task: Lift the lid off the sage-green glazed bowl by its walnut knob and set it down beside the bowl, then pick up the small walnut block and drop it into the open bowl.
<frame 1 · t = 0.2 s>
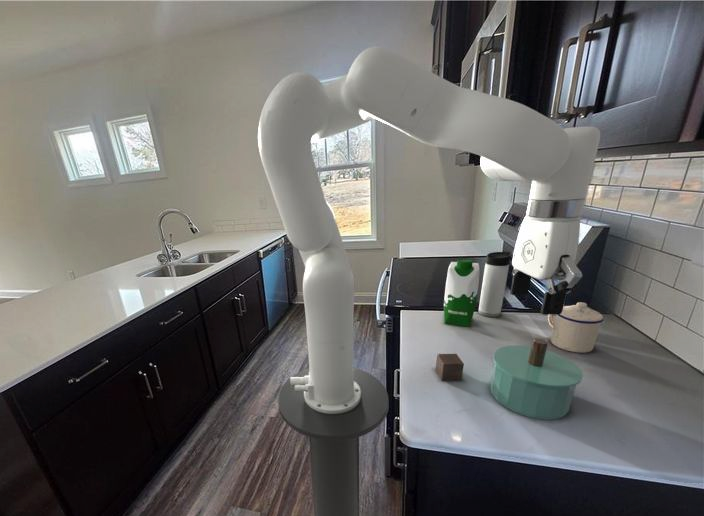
hand: (533, 303, 60), 20 cm above the countertop, tool pointing down, fingers open, 9 cm apart
travel mug: (489, 313, 103), on the countertop
lid: (534, 365, 62), point 7 cm above the countertop, touching bowl
bowl: (527, 396, 65), on the countertop
block: (448, 375, 73), on the countertop
milk carton: (457, 321, 99), on the countertop
teacup with lid: (565, 342, 84), on the countertop
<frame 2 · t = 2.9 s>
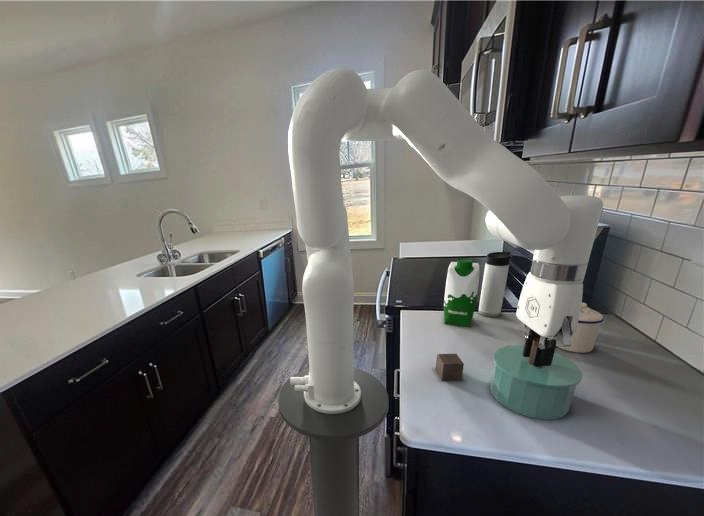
hand: (536, 360, 62), 9 cm above the countertop, tool pointing down, fingers closed on lid, 2 cm apart
lid: (534, 365, 62), point 8 cm above the countertop, touching bowl, gripper
everything else where it was.
when the fingers open (2 cm above the countertop, at t = 10.2 s): lid stays where it is, point 1 cm above the countertop.
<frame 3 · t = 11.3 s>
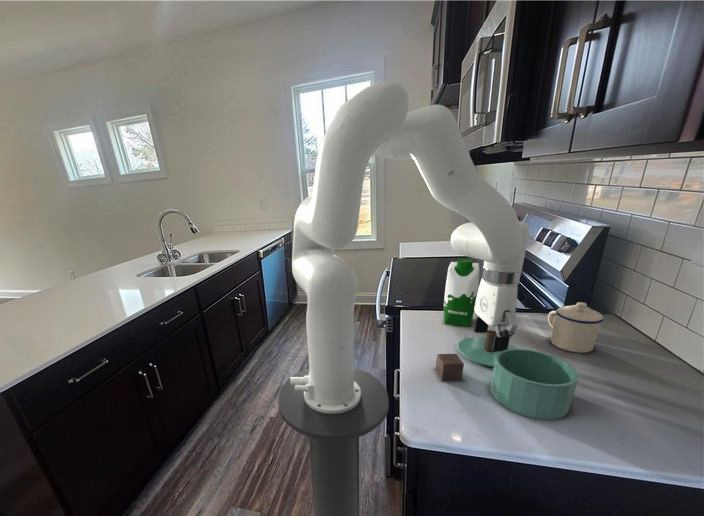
hand: (489, 341, 79), 4 cm above the countertop, tool pointing down, fingers open, 9 cm apart
lid: (488, 351, 81), point 1 cm above the countertop
everything else where it was.
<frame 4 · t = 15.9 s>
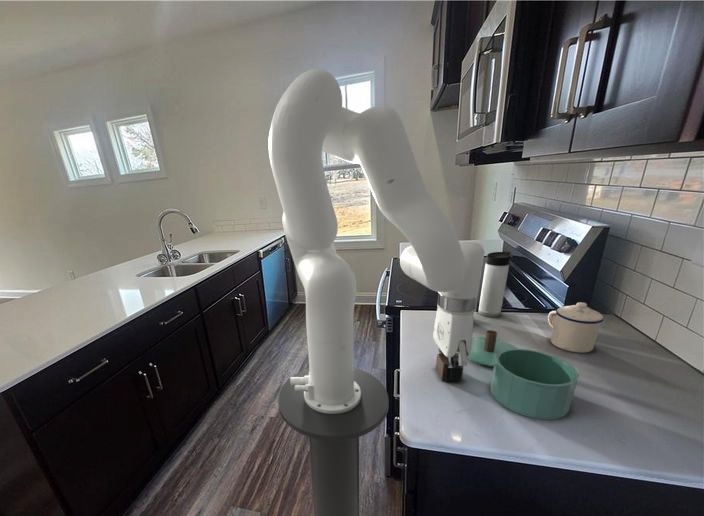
hand: (448, 373, 73), 0 cm above the countertop, tool pointing down, fingers closed on block, 4 cm apart
block: (448, 375, 73), on the countertop, touching gripper
everything else where it was.
when the fingers open (5 cm above the countertop, at t = 23.2 s): block drops 4 cm, resting on bowl.
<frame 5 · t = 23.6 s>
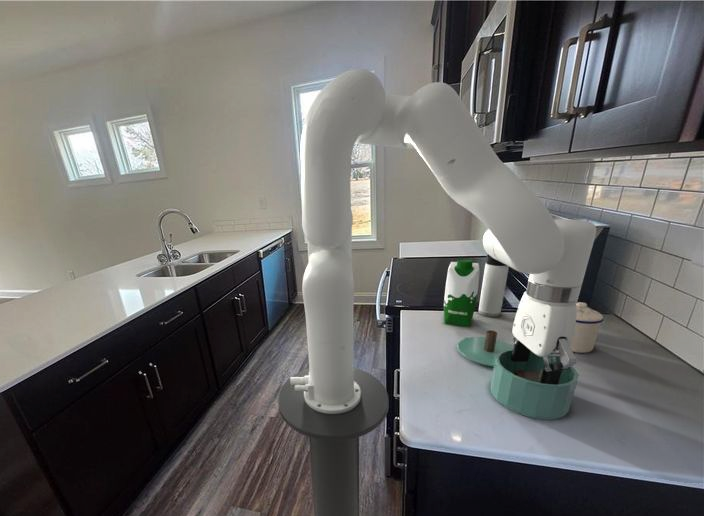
hand: (532, 372, 63), 6 cm above the countertop, tool pointing down, fingers open, 8 cm apart
block: (527, 394, 65), resting on bowl
everything else where it was.
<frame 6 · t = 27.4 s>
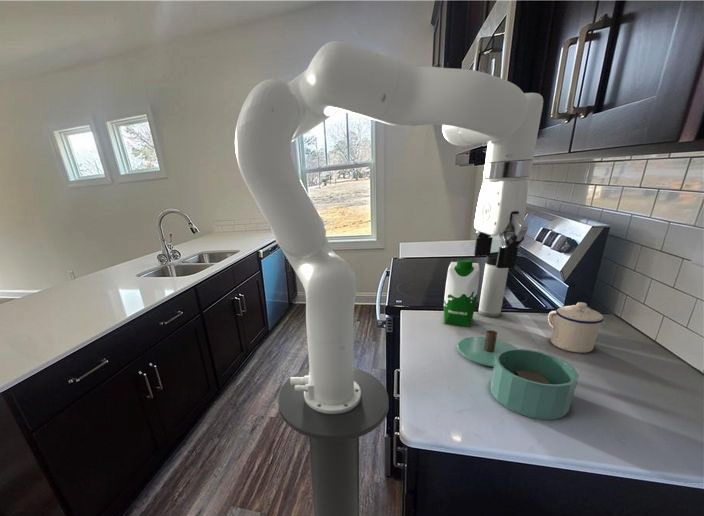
hand: (492, 261, 65), 26 cm above the countertop, tool pointing down, fingers open, 9 cm apart
nothing on the countertop moved.
at the end: lid inside the target area (0.1 cm from its centre), point 0.6 cm above the countertop; lid tilted 0°; block inside the target area in the bowl (0.0 cm from its centre), point 0.5 cm above the bowl's base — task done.
